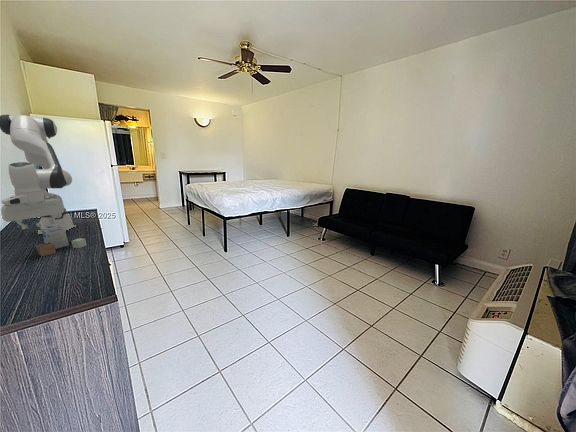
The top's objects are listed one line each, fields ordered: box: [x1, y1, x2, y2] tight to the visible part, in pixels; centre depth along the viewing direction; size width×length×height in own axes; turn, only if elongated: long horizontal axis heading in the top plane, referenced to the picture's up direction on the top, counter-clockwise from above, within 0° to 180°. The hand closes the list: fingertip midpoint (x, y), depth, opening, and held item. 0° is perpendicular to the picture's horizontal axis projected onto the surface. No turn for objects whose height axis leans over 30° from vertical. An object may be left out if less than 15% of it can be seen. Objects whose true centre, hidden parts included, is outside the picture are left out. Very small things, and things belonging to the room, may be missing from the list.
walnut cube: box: [35, 242, 57, 257], centre depth 115 cm, size 5×5×5 cm
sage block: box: [71, 237, 87, 249], centre depth 124 cm, size 4×4×4 cm
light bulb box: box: [41, 225, 70, 250], centre depth 125 cm, size 11×7×11 cm, turn 62°
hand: (39, 226), depth 112 cm, fingers open, 8 cm apart
